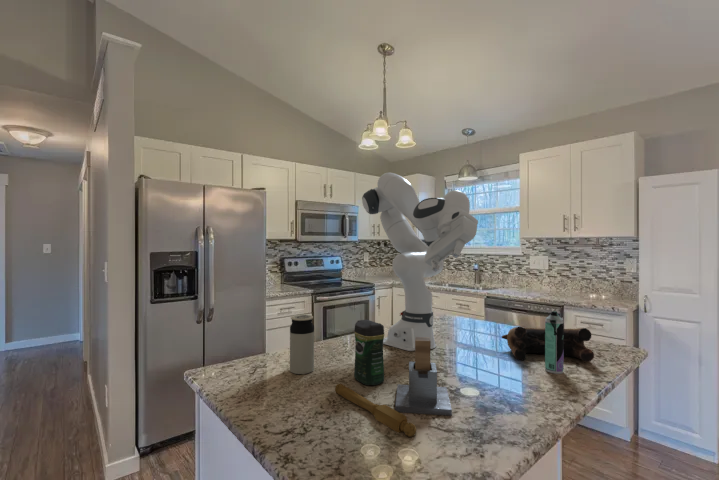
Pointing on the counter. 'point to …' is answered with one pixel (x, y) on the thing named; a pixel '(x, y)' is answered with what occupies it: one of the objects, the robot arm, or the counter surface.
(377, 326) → the coffee jar
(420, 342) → the column
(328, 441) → the counter surface
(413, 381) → the stand
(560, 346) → the spray can
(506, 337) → the stuffed animal
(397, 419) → the tap handle
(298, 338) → the travel mug
